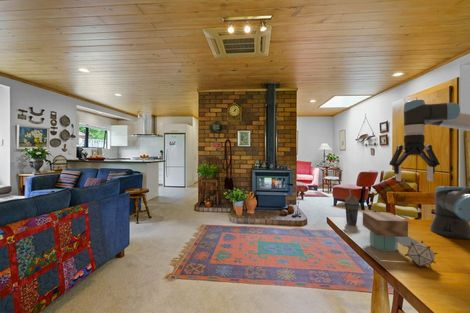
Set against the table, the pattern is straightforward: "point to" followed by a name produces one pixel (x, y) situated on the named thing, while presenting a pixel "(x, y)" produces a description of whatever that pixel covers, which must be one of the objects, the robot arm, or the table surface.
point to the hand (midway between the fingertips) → (414, 181)
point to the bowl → (384, 242)
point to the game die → (421, 254)
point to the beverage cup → (351, 209)
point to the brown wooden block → (385, 224)
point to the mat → (406, 241)
